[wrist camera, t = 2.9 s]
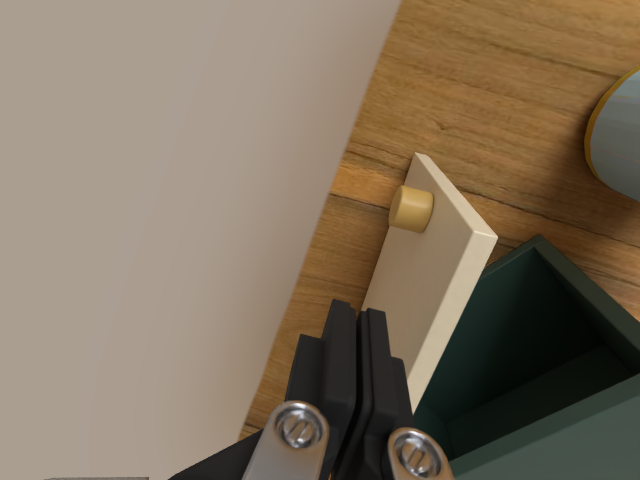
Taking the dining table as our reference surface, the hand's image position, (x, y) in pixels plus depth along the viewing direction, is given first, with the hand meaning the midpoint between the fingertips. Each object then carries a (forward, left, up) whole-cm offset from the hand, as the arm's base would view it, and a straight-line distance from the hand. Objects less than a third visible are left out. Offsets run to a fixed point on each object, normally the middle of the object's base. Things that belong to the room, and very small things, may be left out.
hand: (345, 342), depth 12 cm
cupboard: (+14, +1, -13) cm, 19 cm away
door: (+4, -1, -12) cm, 13 cm away
